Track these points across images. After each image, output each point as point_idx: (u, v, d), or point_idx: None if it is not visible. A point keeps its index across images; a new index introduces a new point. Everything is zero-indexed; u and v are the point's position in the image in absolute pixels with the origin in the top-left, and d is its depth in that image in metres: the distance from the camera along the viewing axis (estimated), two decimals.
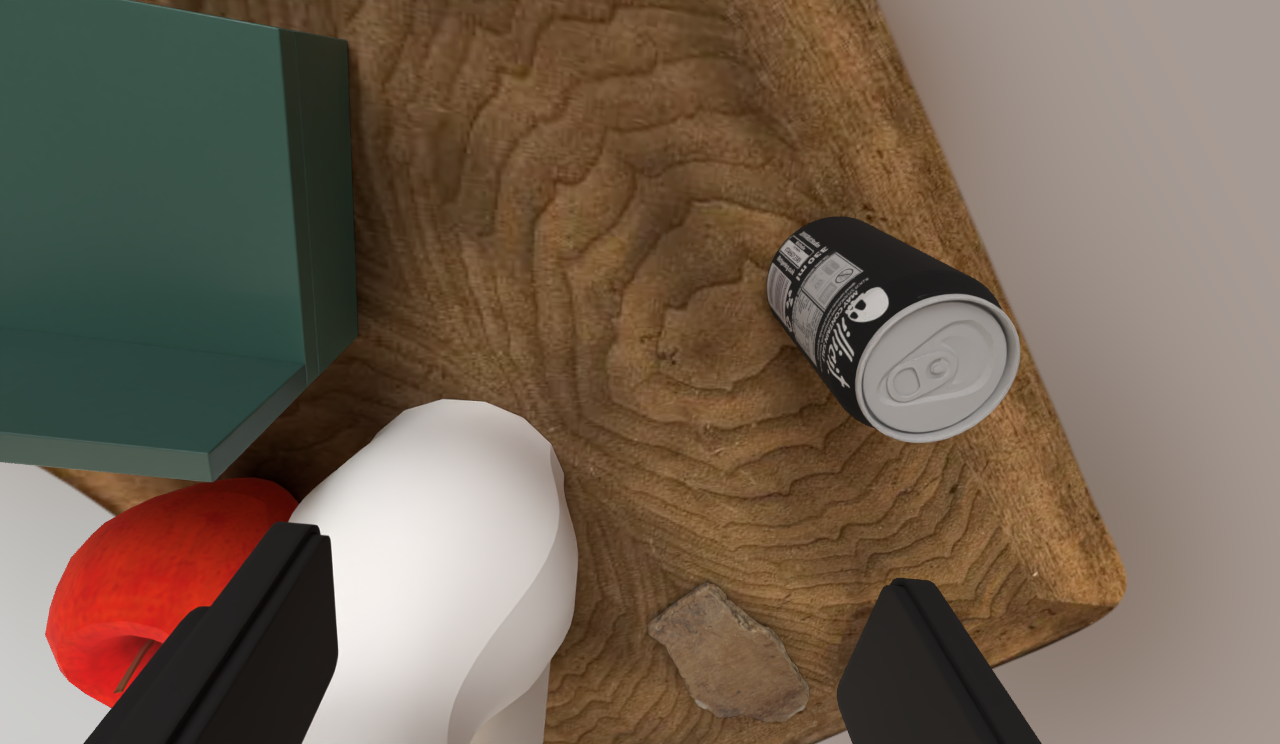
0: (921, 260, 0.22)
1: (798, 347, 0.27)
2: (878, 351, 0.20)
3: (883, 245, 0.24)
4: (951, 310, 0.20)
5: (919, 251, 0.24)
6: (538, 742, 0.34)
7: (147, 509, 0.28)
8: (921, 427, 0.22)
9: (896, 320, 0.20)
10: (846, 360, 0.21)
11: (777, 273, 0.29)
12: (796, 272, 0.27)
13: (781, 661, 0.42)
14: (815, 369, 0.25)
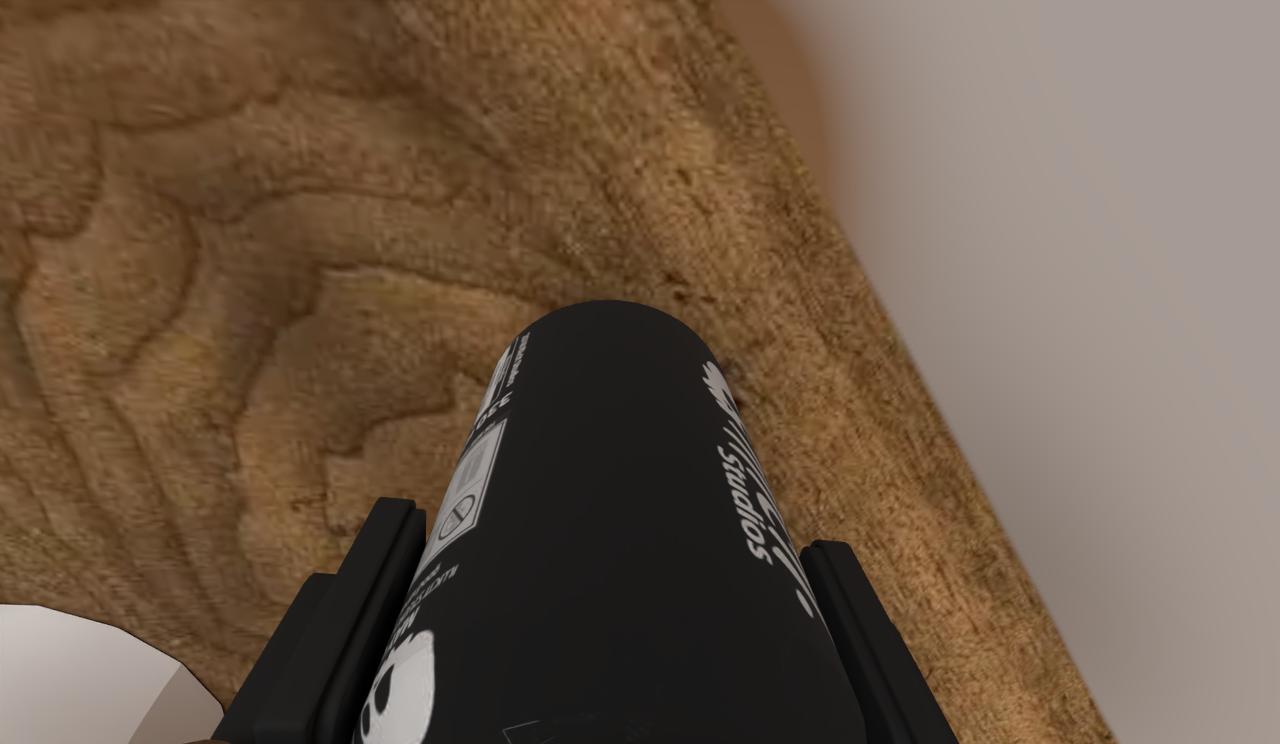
0: (616, 515, 0.07)
1: None
2: None
3: (587, 421, 0.09)
4: None
5: (671, 442, 0.09)
6: None
7: None
8: None
9: None
10: None
11: None
12: None
13: None
14: None
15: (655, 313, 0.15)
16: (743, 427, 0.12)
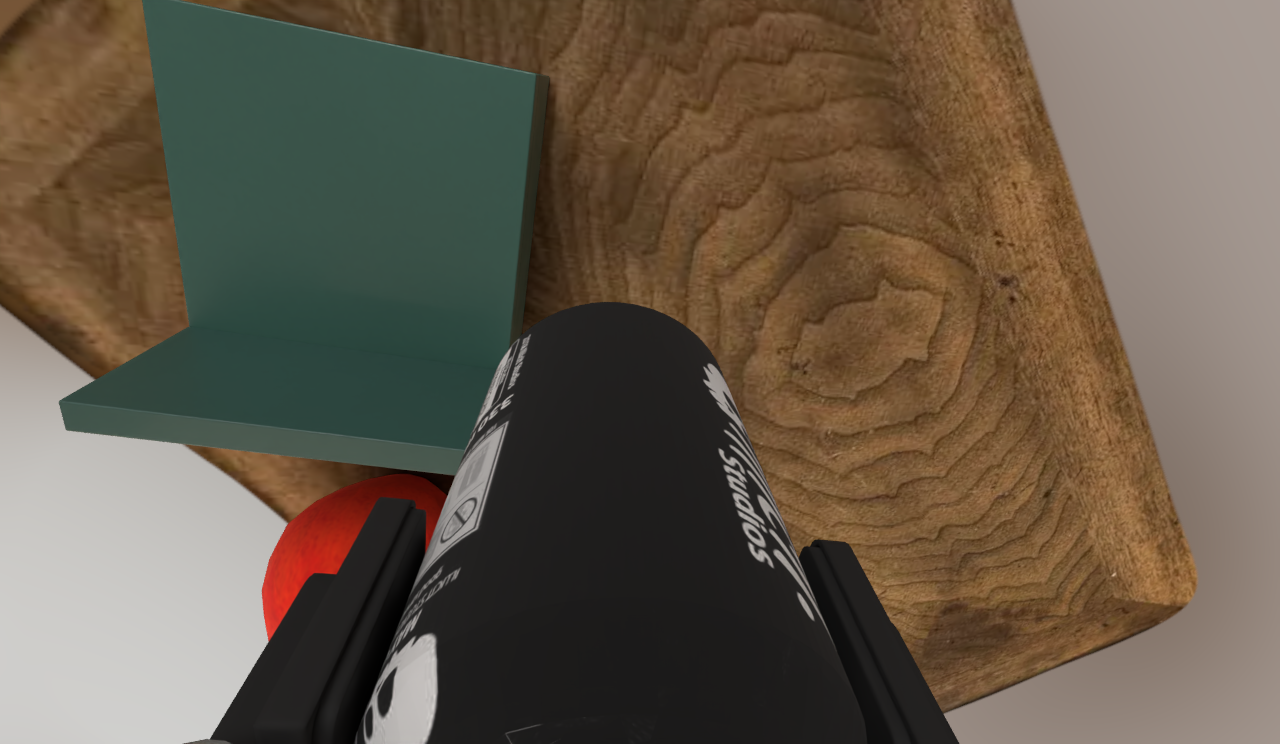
0: (617, 519, 0.07)
1: None
2: None
3: (588, 423, 0.09)
4: None
5: (672, 445, 0.09)
6: None
7: (342, 502, 0.30)
8: None
9: None
10: None
11: None
12: (469, 440, 0.12)
13: None
14: None
15: (656, 315, 0.15)
16: (744, 429, 0.12)
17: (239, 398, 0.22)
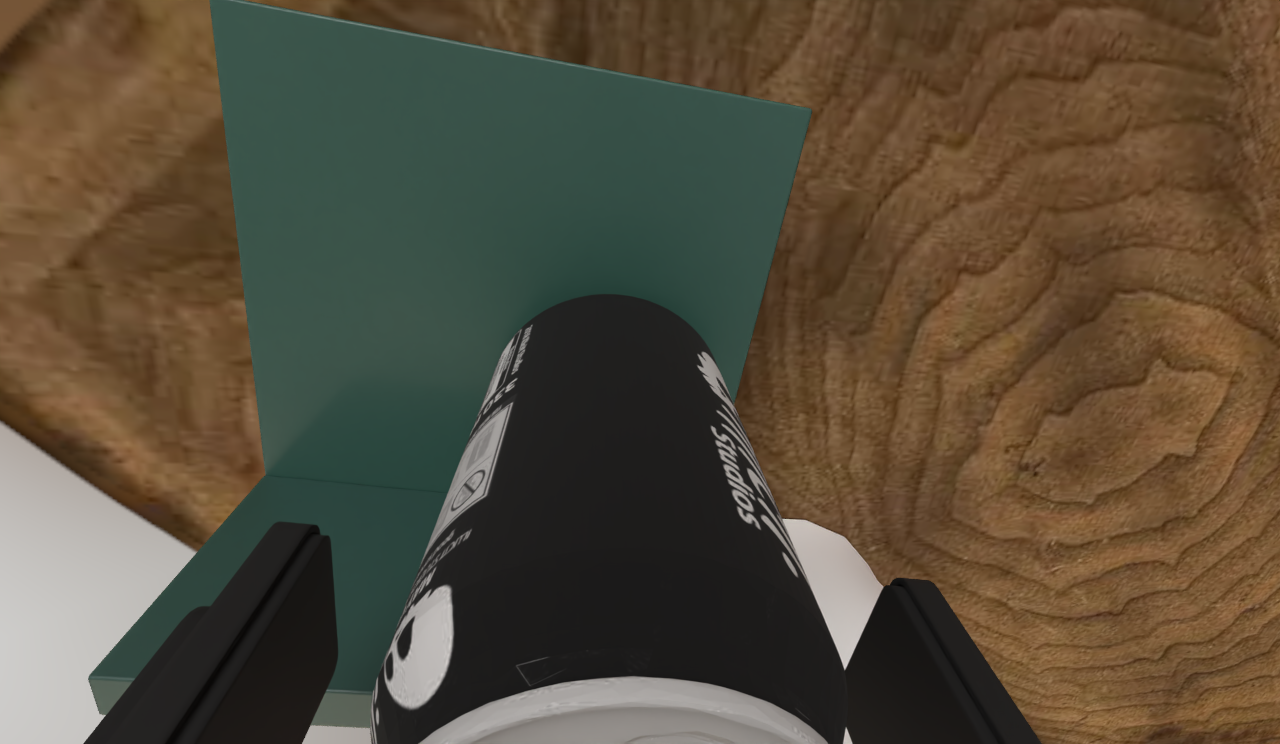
0: (616, 483, 0.08)
1: None
2: None
3: (589, 402, 0.10)
4: (624, 715, 0.06)
5: (667, 421, 0.10)
6: None
7: None
8: None
9: None
10: None
11: None
12: (474, 423, 0.13)
13: None
14: None
15: (652, 306, 0.15)
16: (736, 412, 0.13)
17: (367, 629, 0.14)
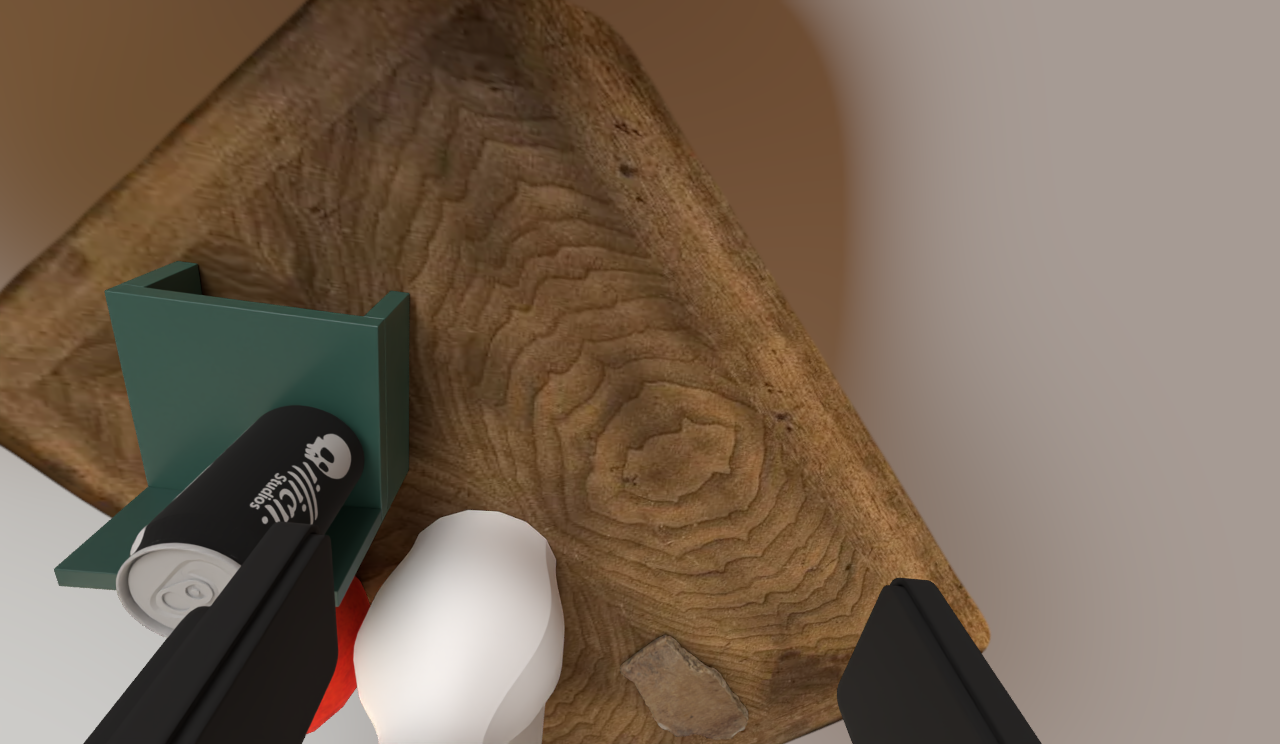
0: (208, 495, 0.26)
1: None
2: (134, 582, 0.25)
3: (228, 465, 0.28)
4: (178, 554, 0.25)
5: (251, 472, 0.28)
6: None
7: None
8: None
9: (125, 563, 0.24)
10: None
11: None
12: None
13: (723, 694, 0.55)
14: None
15: (313, 411, 0.34)
16: (323, 463, 0.31)
17: None
